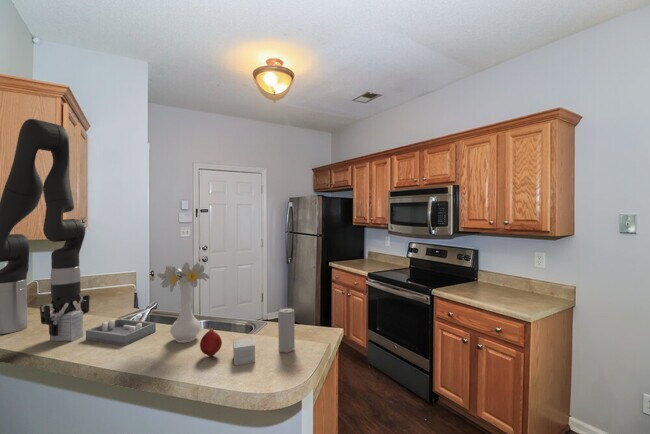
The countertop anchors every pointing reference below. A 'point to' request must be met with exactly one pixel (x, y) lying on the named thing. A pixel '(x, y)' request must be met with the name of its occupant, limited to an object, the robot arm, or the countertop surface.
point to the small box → (244, 351)
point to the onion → (210, 343)
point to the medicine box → (69, 326)
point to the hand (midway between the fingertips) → (66, 331)
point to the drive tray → (120, 331)
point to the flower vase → (184, 299)
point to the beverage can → (286, 330)
